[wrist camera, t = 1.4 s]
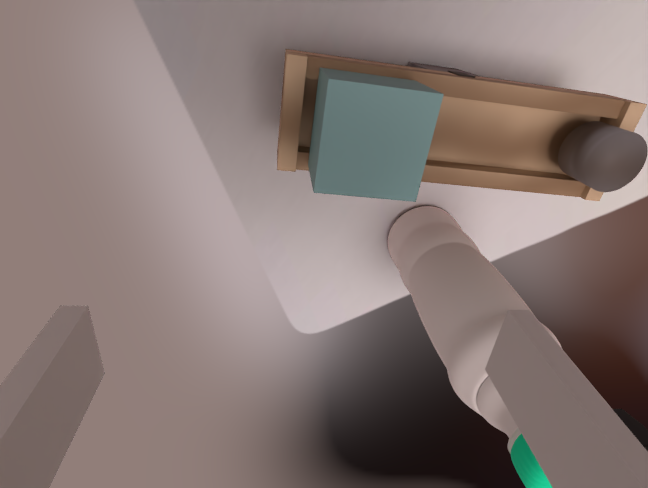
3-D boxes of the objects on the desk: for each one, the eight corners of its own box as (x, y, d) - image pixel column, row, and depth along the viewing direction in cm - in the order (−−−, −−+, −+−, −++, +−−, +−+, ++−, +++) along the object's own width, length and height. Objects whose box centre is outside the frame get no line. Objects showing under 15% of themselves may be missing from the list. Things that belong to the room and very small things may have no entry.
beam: (284, 42, 31) (288, 55, 21) (565, 83, 35) (679, 110, 25) (277, 136, 35) (277, 185, 25) (533, 164, 38) (623, 216, 28)
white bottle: (467, 213, 40) (688, 446, 19) (435, 271, 43) (593, 529, 22) (403, 195, 39) (564, 426, 17) (375, 256, 42) (481, 519, 20)
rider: (317, 64, 26) (328, 78, 20) (408, 77, 27) (443, 94, 21) (306, 157, 28) (313, 192, 23) (389, 165, 29) (415, 201, 24)
